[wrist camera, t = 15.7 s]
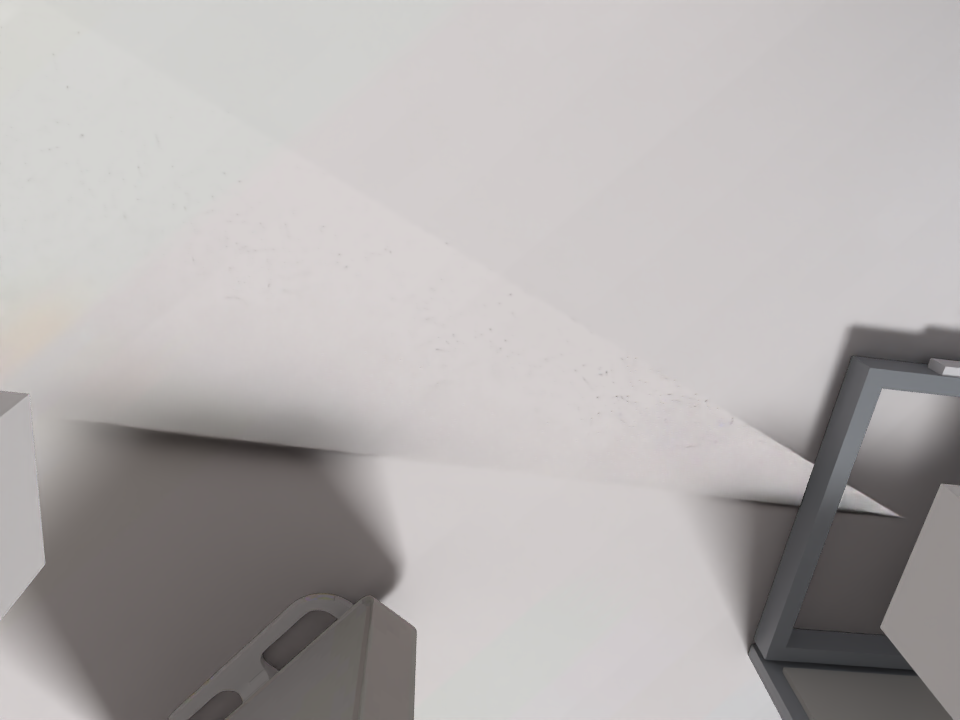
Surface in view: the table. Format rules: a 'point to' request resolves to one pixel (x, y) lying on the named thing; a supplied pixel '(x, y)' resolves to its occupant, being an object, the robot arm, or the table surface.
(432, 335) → the table surface
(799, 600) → the equipment case
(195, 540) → the table surface
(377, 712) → the network device
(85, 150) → the table surface
